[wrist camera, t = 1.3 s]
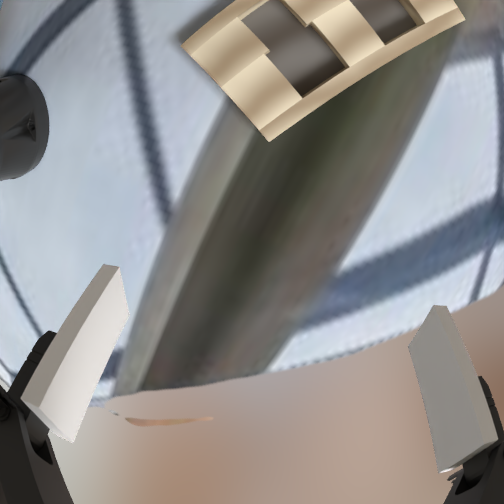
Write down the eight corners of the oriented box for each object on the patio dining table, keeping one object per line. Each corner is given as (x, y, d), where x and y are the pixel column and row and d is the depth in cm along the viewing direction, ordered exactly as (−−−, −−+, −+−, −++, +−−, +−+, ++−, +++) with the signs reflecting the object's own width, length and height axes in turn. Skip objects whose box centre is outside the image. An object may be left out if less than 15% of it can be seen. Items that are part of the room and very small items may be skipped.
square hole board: (187, 47, 25) (180, 45, 23) (380, -70, 15) (386, -78, 13) (270, 136, 30) (269, 142, 28) (454, 21, 20) (465, 19, 18)
